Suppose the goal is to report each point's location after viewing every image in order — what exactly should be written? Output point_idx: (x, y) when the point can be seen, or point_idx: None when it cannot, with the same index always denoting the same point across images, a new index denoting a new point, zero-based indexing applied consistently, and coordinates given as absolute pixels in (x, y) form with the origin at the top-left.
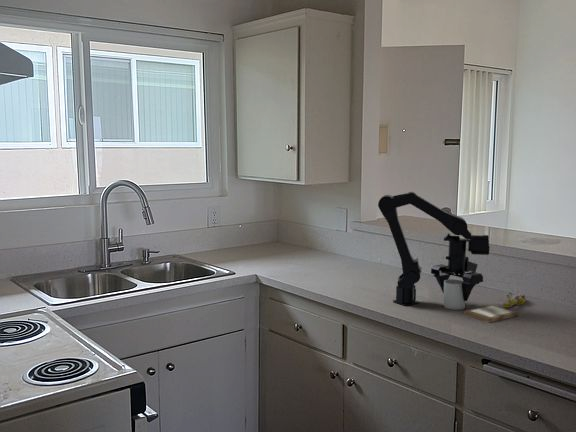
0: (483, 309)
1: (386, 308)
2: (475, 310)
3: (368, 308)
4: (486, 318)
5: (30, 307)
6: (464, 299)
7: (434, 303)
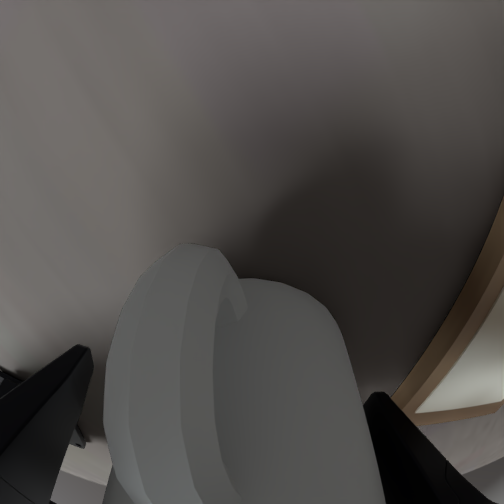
0: (489, 341)
1: (89, 468)
2: (444, 391)
3: (73, 474)
4: (485, 412)
5: None
6: (369, 426)
7: (91, 352)
